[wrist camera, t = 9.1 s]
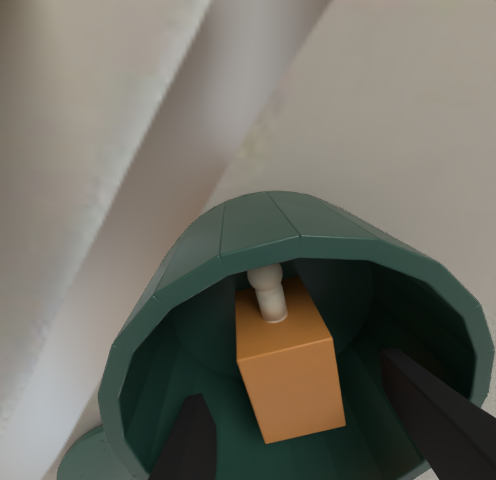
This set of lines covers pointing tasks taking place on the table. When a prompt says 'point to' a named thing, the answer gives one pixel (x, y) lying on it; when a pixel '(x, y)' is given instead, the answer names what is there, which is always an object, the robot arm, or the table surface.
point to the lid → (92, 460)
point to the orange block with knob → (286, 357)
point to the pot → (334, 316)
